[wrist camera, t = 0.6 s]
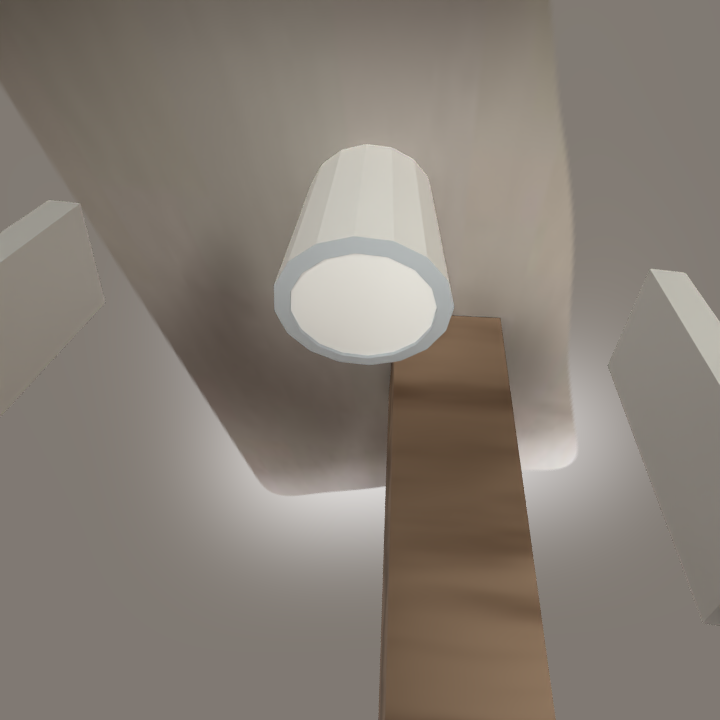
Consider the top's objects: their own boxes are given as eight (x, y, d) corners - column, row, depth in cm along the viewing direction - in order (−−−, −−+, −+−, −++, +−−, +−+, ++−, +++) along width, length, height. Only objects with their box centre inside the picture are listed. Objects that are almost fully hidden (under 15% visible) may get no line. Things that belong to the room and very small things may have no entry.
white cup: (309, 261, 28) (290, 368, 24) (282, 134, 23) (252, 242, 19) (444, 257, 28) (451, 366, 23) (449, 125, 22) (458, 235, 18)
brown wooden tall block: (395, 313, 31) (372, 1227, 13) (500, 318, 31) (628, 1252, 13) (388, 396, 37) (366, 1091, 19) (475, 400, 37) (538, 1106, 19)
